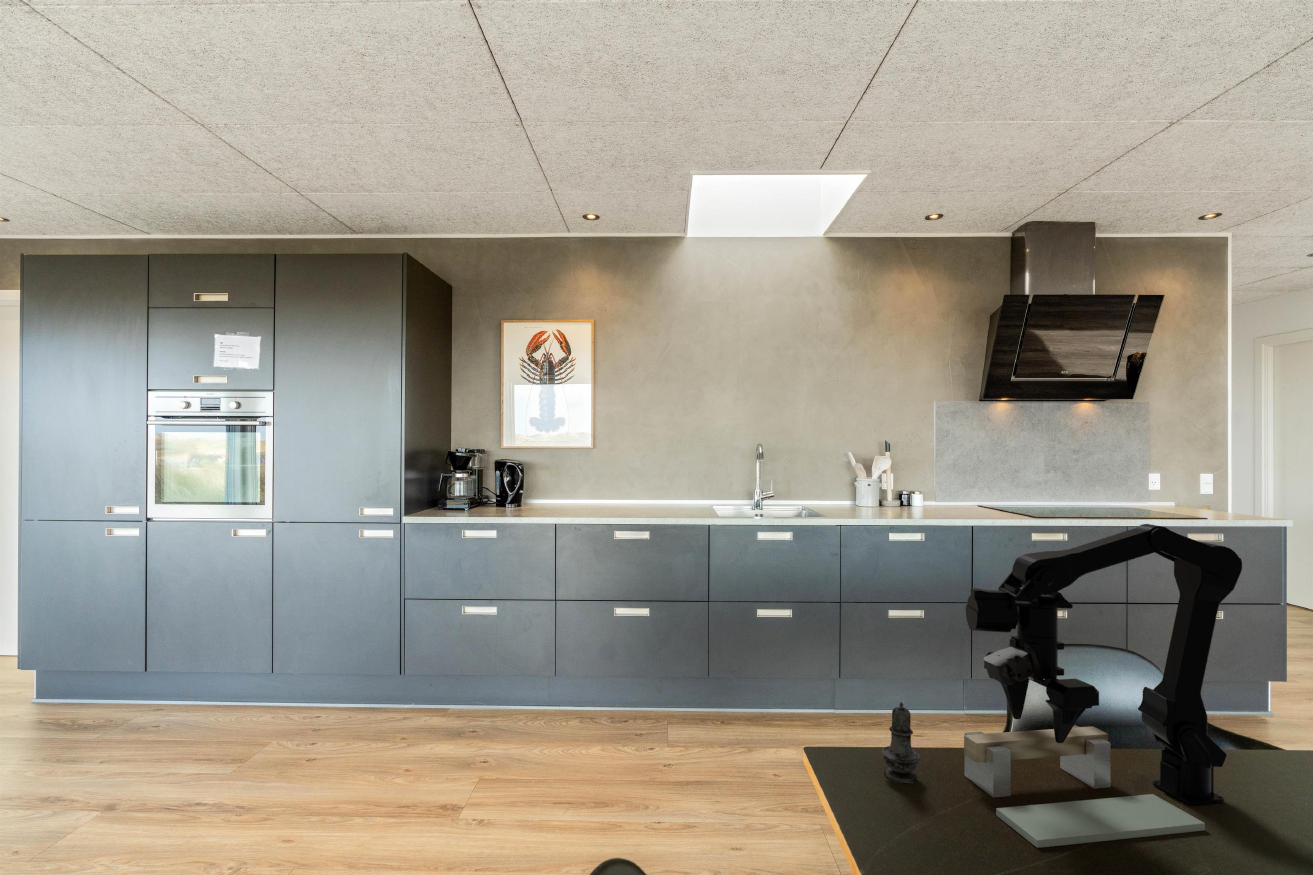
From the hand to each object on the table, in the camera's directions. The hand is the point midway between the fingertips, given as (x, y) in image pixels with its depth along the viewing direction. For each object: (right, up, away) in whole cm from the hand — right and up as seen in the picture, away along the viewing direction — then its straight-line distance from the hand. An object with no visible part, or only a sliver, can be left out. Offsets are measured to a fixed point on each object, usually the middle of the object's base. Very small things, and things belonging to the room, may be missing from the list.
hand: (1037, 730), depth 106 cm
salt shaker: (-22, -8, +1) cm, 23 cm away
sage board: (+2, -8, -12) cm, 14 cm away
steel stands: (0, -8, 0) cm, 8 cm away
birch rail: (0, -4, 0) cm, 4 cm away
